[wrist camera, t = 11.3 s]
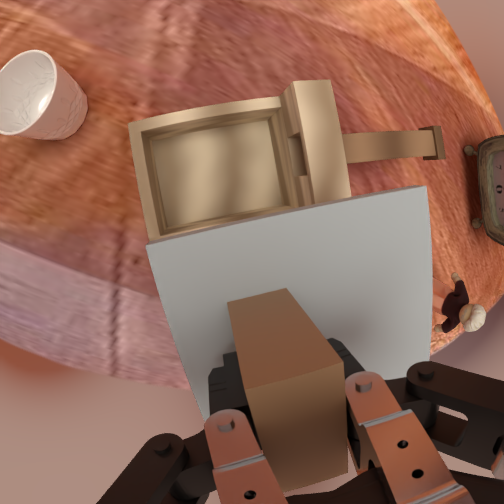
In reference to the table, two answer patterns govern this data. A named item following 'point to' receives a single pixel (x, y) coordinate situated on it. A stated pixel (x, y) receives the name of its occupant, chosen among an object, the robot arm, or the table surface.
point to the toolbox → (239, 159)
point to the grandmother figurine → (456, 306)
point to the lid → (302, 314)
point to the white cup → (39, 98)
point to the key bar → (394, 145)
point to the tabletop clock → (490, 186)
